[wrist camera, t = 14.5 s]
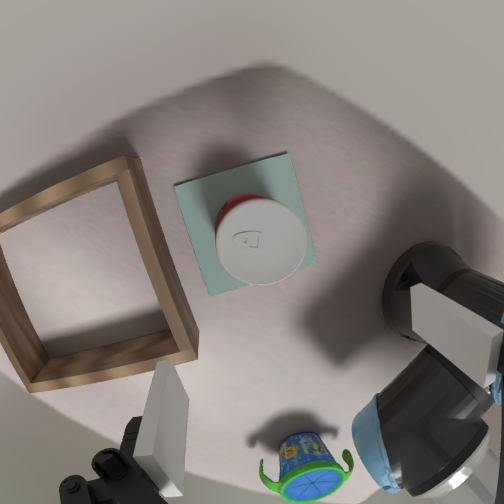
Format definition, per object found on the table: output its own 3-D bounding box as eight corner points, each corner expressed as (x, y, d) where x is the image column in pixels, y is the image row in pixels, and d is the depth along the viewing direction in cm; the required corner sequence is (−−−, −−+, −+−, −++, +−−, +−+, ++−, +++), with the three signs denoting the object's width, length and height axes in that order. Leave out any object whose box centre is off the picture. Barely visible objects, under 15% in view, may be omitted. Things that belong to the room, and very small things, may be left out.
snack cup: (250, 463, 48) (258, 506, 38) (261, 424, 46) (271, 470, 36) (330, 459, 50) (347, 497, 40) (348, 422, 48) (370, 461, 38)
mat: (287, 153, 37) (288, 153, 37) (315, 261, 41) (316, 262, 40) (174, 186, 36) (173, 186, 36) (209, 294, 40) (209, 296, 39)
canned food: (210, 198, 37) (208, 206, 26) (277, 188, 37) (303, 192, 27) (220, 262, 39) (223, 293, 28) (285, 251, 39) (311, 278, 29)
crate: (140, 159, 35) (124, 155, 28) (199, 331, 41) (197, 359, 34) (-12, 229, 34) (-41, 238, 27) (47, 368, 40) (29, 393, 33)
